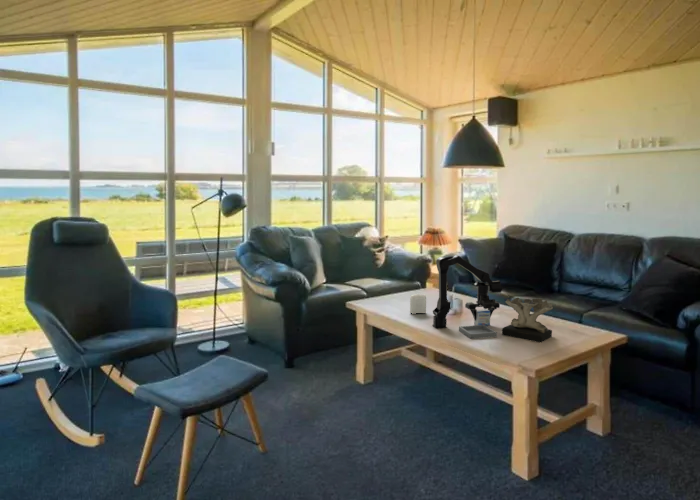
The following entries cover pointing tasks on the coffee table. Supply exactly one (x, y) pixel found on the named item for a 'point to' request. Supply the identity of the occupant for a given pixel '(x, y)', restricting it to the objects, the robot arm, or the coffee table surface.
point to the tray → (477, 331)
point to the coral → (528, 320)
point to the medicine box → (482, 317)
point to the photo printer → (417, 303)
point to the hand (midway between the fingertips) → (482, 319)
